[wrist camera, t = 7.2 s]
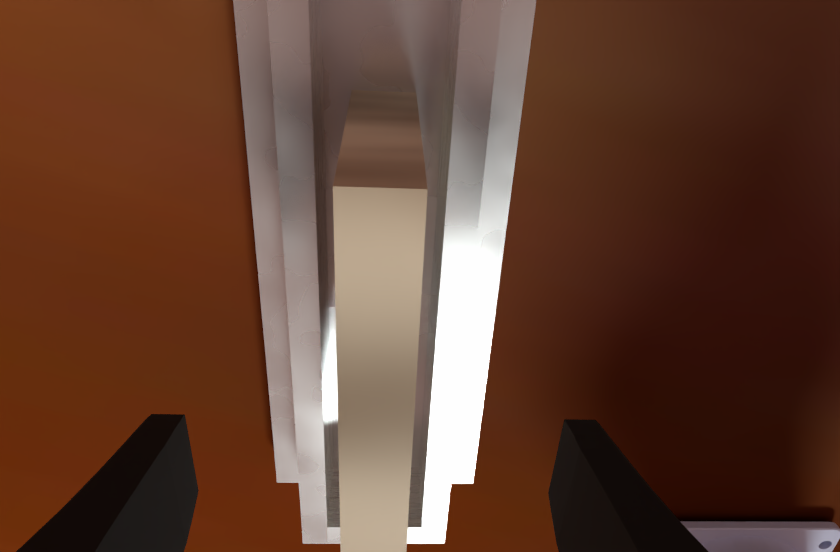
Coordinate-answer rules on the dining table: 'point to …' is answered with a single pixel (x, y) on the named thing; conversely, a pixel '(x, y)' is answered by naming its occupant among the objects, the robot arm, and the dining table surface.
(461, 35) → the door track
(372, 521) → the door panel
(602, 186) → the dining table surface
